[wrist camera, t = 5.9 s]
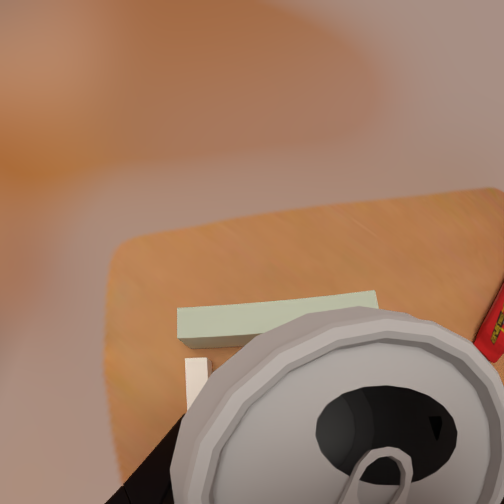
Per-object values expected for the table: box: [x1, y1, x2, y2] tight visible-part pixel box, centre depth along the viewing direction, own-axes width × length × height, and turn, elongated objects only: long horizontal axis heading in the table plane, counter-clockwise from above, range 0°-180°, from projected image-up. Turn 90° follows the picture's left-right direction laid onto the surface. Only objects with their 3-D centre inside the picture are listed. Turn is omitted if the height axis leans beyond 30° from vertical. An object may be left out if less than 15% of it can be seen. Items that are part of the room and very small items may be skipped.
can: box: [170, 306, 504, 504], centre depth 8 cm, size 8×8×12 cm
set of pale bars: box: [177, 290, 379, 411], centre depth 18 cm, size 13×13×4 cm
